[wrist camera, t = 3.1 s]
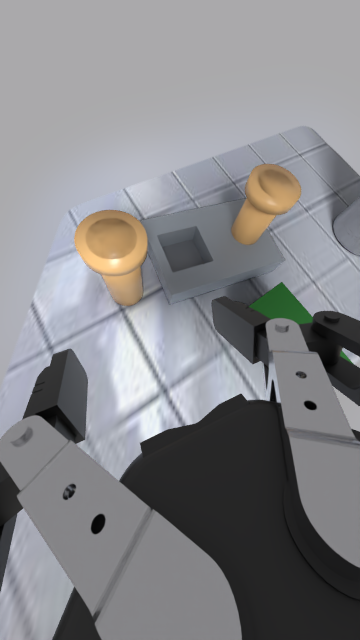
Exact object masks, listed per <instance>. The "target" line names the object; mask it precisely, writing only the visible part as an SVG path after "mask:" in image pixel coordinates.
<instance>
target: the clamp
mask: <svg viewBox="0 0 360 640" xmlns="http://www.w3.org/2000/svg"><path fill="white" fill-rule="evenodd" d="M250 307H251V308H253V309H254V310H256V311H258V312H260V313H261V314H263V315H265V316H267V317H268V318H270V319H275V318H285V319H289V320H292V321H294V322H296V323H297V324H305V323H311V322H312V320H313V317H312V316H311V315H310V314H309V313H308V311H307V310H306V309H305V308H304V307H303V306H302V304H301V303H300V302H299V301H298V300H297V299H296V298H295V296H294V295H293V294H292V293H291V292H290V291H289V290H288V288H287V287H286V286H285V285H284V284H283V283H282V282H281V283H280V284H278V285H277V286H276V287H274V288H273V289H272V290H270V291H269V292H267V293H266V294H265V295H263V296H262V297H261V298H259V299H258V300H257V301H255V302H254V303H253V304H251V305H250V306H249V308H250ZM340 356H341V357H342V358H344V359H346V360H347V361H349V362H351V361H350V359H349V358H348V357H347V356H346V355H345V354H344V353H343V351H341V354H340ZM351 363H352V362H351ZM352 364H353V363H352Z"/></svg>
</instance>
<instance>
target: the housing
mask: <svg viewBox="0 0 360 640" xmlns="http://www.w3.org/2000/svg"><path fill="white" fill-rule="evenodd" d="M245 194H246V197H247V198H244V199H239V200H234V201H230V202H225V203H220V204H216V205H211V206H206V207H201V208H197V209H192V210H187V211H183V212H178V213H173V214H168V215H164V216H159V217H154V218H150V219H145V220H141V224H142V225H143V227H144V228H145V231H146V234H147V245H148V253H149V255H150V258H151V260H152V263H153V265H154V268H155V270H156V273H157V275H158V278H159V280H160V282H161V285H162V287H163V290H164V292H165V295H166V297H167V300H168V302H169V305H170V304H173V303H176V302H179V301H182V300H186V299H189V298H192V297H195V296H198V295H201V294H204V293H207V292H210V291H213V290H216V289H219V288H222V287H225V286H228V285H231V284H235V283H238V282H241V281H244V280H247V279H250V278H253V277H256V276H259V275H262V274H265V273H268V272H271V271H273V270H274V269H275V268H276V267H277V266H278V265H280V264H281V263H282V262H283V261H284V260H285V258H284V257H283V255H282V253H281V252H280V250H279V248H278V247H277V245H276V243H275V241H274V240H273V238H272V236H271V235H270V233H269V231H268V230H267V227H268V226H269V225H270V223H271V222H272V221H273V219H274V218H275V217H276V215H281V214H285V213H287V212H288V211H289V210H290V209H291V208H292V207H293V205H294V204H295V203H296V202H297V200H298V199H299V198H300V195H301V187H300V184H299V182H298V180H297V179H296V177H295V176H294V175H293V174H292V173H291V172H289V171H288V170H286V169H285V168H283V167H280V166H278V165H274V164H262V165H259V166H257V167H255V168H254V169H253V170H252V172H251V174H250V176H249V178H248V180H247V182H246V185H245Z"/></svg>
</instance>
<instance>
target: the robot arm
mask: <svg viewBox="0 0 360 640" xmlns="http://www.w3.org/2000/svg"><path fill="white" fill-rule="evenodd" d="M333 228H334V233H335V235H336V237H337V239H338V241H339V242H340V243H341V244H342V245H343V246H344V247H345V248H346V249H347V250H349V251H350V252H352V253H354V254H356V255H358V256H360V197H359V198H358V199H356V200H355V201H354V202H353V203H352V204H351V205H350V206H349V207H347V208H346V209H345V210H344V211H343V212H342V213H341V214H339V215H338V216H337V217H336V219H335V221H334V225H333ZM212 313H213V323H214V326H215V329H216V330H217V331H218V332H219V333H220V334H221V335H222V336H223V337H224V338H225V339H226V340H227V341H228V342H229V343H230V344H231V345H233V346H234V347H235V348H236V349H237V350H238V351H239V352H240V353H241V354H242V355H243V356H244V357H246V358H247V359H248V360H249V361H250V362H251V363H252V364H254V363H257V362H259V361H262V362H263V374H264V385H265V395H266V400H248V401H247V400H246V399H245V398H244V396H243V395H242V394H239V395H237V396H235V397H233V398H231V399H229V400H227V401H225V402H223V403H221V404H219V405H218V406H217V407H215V408H214V409H213V410H212V411H211V412H210V413H209V414H207V415H206V416H205V417H204V418H203V419H202V420H201V421H199V422H198V423H196V424H192V425H187V426H182V427H177V428H173V429H168V430H166V431H164V432H162V433H160V434H157V435H155V436H153V437H151V438H149V439H147V440H145V441H143V442H141V443H140V445H141V450H142V453H141V454H140V455H139V456H138V457H137V458H136V459H135V460H134V461H133V462H132V463H131V464H130V466H129V467H128V468H127V469H126V471H125V472H124V474H123V475H122V477H121V479H120V480H119V481H118V480H117V479H116V478H115V477H113V476H112V475H111V474H110V473H109V472H108V471H106V470H105V469H104V468H103V467H102V466H101V465H99V464H98V463H97V462H96V461H95V460H94V459H92V458H91V457H90V456H89V455H88V454H87V453H85V452H84V451H83V450H82V449H81V448H79V447H78V446H77V445H76V443H79V442H81V441H83V440H85V430H86V409H87V388H88V379H87V375H86V372H85V370H84V368H83V367H82V365H81V363H80V362H79V360H78V358H77V357H76V355H75V353H74V352H73V350H72V349H67V350H64V351H62V352H59V353H56V354H54V355H53V357H52V360H51V363H50V366H49V367H46V368H45V369H44V370H43V371H42V372H41V373H40V375H39V376H38V378H37V380H36V383H35V387H34V389H33V391H32V394H31V397H30V400H29V402H28V405H27V408H26V410H25V413H24V416H23V419H22V420H21V421H19V422H18V423H16V424H15V425H13V426H12V427H11V428H10V429H9V430H8V431H7V432H6V433H5V434H4V435H3V436H2V438H1V439H0V591H1V587H2V582H3V577H4V573H5V568H6V564H7V559H8V554H9V550H10V545H11V541H12V536H13V531H14V527H15V522H16V518H17V513H18V512H19V511H21V510H22V509H23V508H24V509H25V511H26V513H27V514H28V516H29V517H30V519H31V520H32V522H33V523H34V525H35V526H36V528H37V529H38V531H39V533H40V534H41V536H42V537H43V539H44V540H45V542H46V543H47V545H48V546H49V548H50V549H51V551H52V553H53V554H54V556H55V557H56V559H57V560H58V562H59V563H60V565H61V566H62V568H63V569H64V571H65V573H66V574H67V576H68V577H69V579H70V580H71V582H72V583H73V585H74V589H73V591H72V593H71V596H70V598H69V601H68V603H67V605H66V608H65V610H64V613H63V615H62V617H61V620H60V622H59V625H58V627H57V629H56V632H55V634H54V637H53V639H52V640H360V432H359V431H356V430H353V429H351V428H350V426H349V423H348V421H347V418H346V416H345V414H344V412H343V409H342V407H341V405H340V403H339V400H338V398H337V396H336V393H335V391H334V389H333V387H332V386H334V387H335V388H336V389H338V390H339V391H340V392H341V393H343V394H344V395H345V396H347V397H348V398H349V399H351V400H352V401H353V402H355V403H356V404H357V405H358V406H360V368H359V367H357V366H356V365H354V364H352V363H351V362H349V361H347V360H346V359H344V358H342V357H341V356H340V354H341V351H342V348H345V349H347V350H349V351H350V352H352V353H354V354H356V355H358V356H359V357H360V321H359V320H356V319H354V318H351V317H349V316H347V315H344V314H342V313H339V312H334V311H321V312H317V313H315V314H314V316H313V320H312V322H311V323H305V324H297V323H296V322H294V321H292V320H289V319H285V318H275V319H270V318H268V317H267V316H265V315H263V314H261V313H260V312H258V311H256V310H254V309H253V308H251V307H250V308H249V306H247V305H246V304H244V303H241V302H237V301H232V300H231V299H229V298H227V297H225V296H223V297H220V298H217V299H214V300H212Z"/></svg>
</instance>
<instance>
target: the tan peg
mask: <svg viewBox="0 0 360 640" xmlns="http://www.w3.org/2000/svg"><path fill="white" fill-rule="evenodd" d="M74 239H75V246H76V248H77V251H78V252H79V254H80V256H81V257H82V259H83V261H84V263H85V264H86V265H87V266H88V267H89V268H90V269H92V270H93V271H95V272H97V273H99V274H101V275H102V277H103V279H104V281H105V283H106V285H107V287H108V289H109V291H110V293H111V295H112V298H113V299H114V300H115V302H117V303H118V304H120V305H123V306H131V305H134V304H136V303H137V302H139V301H140V299H141V298H142V295H143V285H142V276H141V267H140V266H141V265H142V264H143V262H144V261H145V259H146V256H147V251H148V245H147V234H146V231H145V228H144V227H143V225H142V224H141V223H140V221H139V220H137V219H136V218H135V217H133V216H132V215H130V214H128V213H125V212H122V211H117V210H104V211H99V212H96V213H93V214H91V215H89V216H88V217H86V218H85V219H84V220H83V221H82V222H81V223H80V224H79V226H78V227H77V229H76V232H75V238H74Z"/></svg>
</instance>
